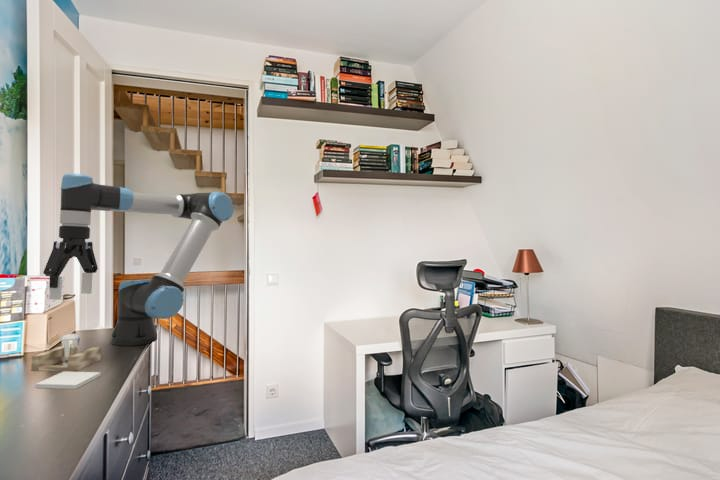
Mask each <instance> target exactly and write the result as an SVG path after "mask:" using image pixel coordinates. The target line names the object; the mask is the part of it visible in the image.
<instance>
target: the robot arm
mask: <svg viewBox="0 0 720 480" xmlns="http://www.w3.org/2000/svg"><path fill="white" fill-rule="evenodd" d="M93 180H94V179H93V177H92V176H91V175H86V174H82V173H65V174H63V175H62V180H61V184H60V215H59V224H60V226H59V227H58V228H59V229H58V238H60V239H62V241H55V240H54V241H53V246H52V250H51V252H50V254H49V255H50V256H49V257H48V260H47V262H46V265H45V266H44V270H43V274H44V275H45V277H49V284H48V285H49V287H48V288H49V295H48V298H49V299H48V300H58V301H59V300H62V288H63V286H62V285H63V276H60V275H61V274H62V272H63V271H64V269H65V268H66V266H67V264H68V263H69V261H70V259H73V258H77V262H79V265H80V266H81V269H82V270H83V272H81V284H80V285H81V288H80V290H81V291H80V293H81V294H88V295H89V294H92V292H93V291H92V287H93V274H96V273H97V271H98V269H99V268H98V265H97V264H98V263H97V261H96V260H97V259H96V256H95V253H94V249H93V248H94V247H93V246H94V245H93V242H92V241H86V240H88V239H90V237H91V236H90V235H91V233H90V232H91V228H90V227H89V226H90V225H91V221H92V219H91V216H92V213H91V212H92V211H103V212H107V211H109V212H120V213H121V212H122V213H126V212H127V213H138V214H139V213H140V214H155V215H156V214H157V215H171V216H172V217H173V218H179V219H187V220H188V219H189V220H191V222H190V224H189V225H188V226H187V228H186V230H185V232H183V235H182V236H181V238H180V239H179V241H178V243H177V245H176V246H175V248H174V250H173V251H172V252H171V255H170V256H169V258H168V260H166V261H167V262H166V263H165V264H164V266H163V268H162V269H161V272H160V273H156V274H153V275H152V278H149V279H147V278H145V279H132V280H130V279H129V280H123V281H120V283H119V286H118V297H117V298H118V299H117V300H118V302H117V304H118V305H117V321H116V324H115V326H114V329H113V332H112V334H111V337H110V344H112V345H115V346H122V347H123V346H125V347H127V346H130V347H132V346H139V345H140V346H141V345H142V346H143V345H148V344H151V343H154V342H156V341H157V340H158V332H157V329H156V325H155V322H154V319H157V320H163V319H164V320H166V319H169V318H172V317H174V316H175V315H176V314H178V313H179V312H180V310H181V309H182V307H183V305H184V293H183V292H184V291H185V286H184V282H185V280H186V278H187V276H188V275H189V273H190V272H191V270H192V268H193V266H194V264H195V263H196V261H197V259H198V257H199V255H200V254H201V252H202V250H203V248H204V247H205V246H206V243H207V242H208V239H209V238H210V236H211V234H212V233H213V231H216V230H217V231H218V230H219V228H220V226H221V225H222V223H223V222H227V221H229V220H230V219H231V218H232V217H233V214H234V205H233V200H232V199H231V197H230V196H229V195H228V194H227V193H225V192H224V191H223V192H221V191H212V192H196V193H184V194H183V193H181V194H180V193H179V194H178V193H175V194H173V195H166V194H157V193H146V192H145V193H144V192H135V191H131V189H130V188H126V187H122V186H113V185H105V184H98V183H94V181H93Z"/></svg>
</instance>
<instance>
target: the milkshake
mask: <svg viewBox="0 0 720 480" xmlns="http://www.w3.org/2000/svg"><path fill="white" fill-rule="evenodd" d="M58 335H59V337H60V340H61V346H62V361H61V362H62V366H68V357H70V356H73V355H75V354H78V353H79V345H80V340H81V336H80V335H79V334H78V333H73V332H72V333H67V334H64V335H63V336H62V337H61V334H60V332H58Z"/></svg>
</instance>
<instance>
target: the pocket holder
mask: <svg viewBox="0 0 720 480" xmlns="http://www.w3.org/2000/svg"><path fill="white" fill-rule="evenodd" d="M101 353H102V346H93V347H90V348H88V349H86V350H83V351H80V352H77V354H75V355H73V356H70V357H68V366H63V365H58V363H60V362H62V345H60V346H57V347H54V348H52V349H49V350H46V351H43V352H41V353H39V354H35V355H32V356H31V368H30V370H31V371H34V372H35V371H36V372H37V371H38V372H39V371H40V372H63V371H67V372H78V371H79V370H81V369H83V368H85V367H88V366H89V365H92V364H94V363H97V362H98V361H101V359H102V358H101V357H102V356H101V355H102V354H101Z"/></svg>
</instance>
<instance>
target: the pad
mask: <svg viewBox="0 0 720 480" xmlns="http://www.w3.org/2000/svg"><path fill="white" fill-rule="evenodd" d="M101 374H102V373H101V372H97V371H92V372H91V371H75V372H67V371H60V372H59V373H57V374H55V375H52V376H50V377H48V378H46V379H44V380H41V381H39V382H37V383H35V388H34V389H55V390H56V389H59V390H60V389H61V390H63V389H64V390H66V389H67V390H77V389H78V388H80V387H83V386H84V385H86V384H88V383H90V382H92V381H93V380H96V379H98V378H99V377H101Z"/></svg>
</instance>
